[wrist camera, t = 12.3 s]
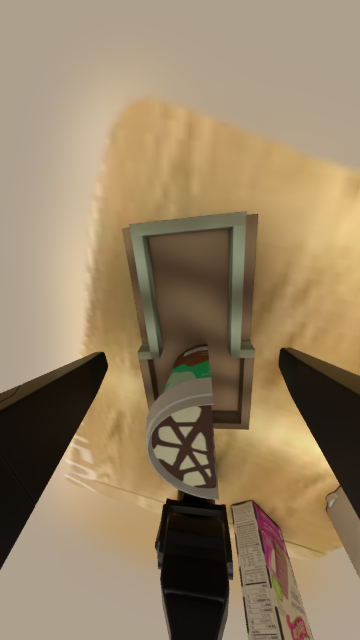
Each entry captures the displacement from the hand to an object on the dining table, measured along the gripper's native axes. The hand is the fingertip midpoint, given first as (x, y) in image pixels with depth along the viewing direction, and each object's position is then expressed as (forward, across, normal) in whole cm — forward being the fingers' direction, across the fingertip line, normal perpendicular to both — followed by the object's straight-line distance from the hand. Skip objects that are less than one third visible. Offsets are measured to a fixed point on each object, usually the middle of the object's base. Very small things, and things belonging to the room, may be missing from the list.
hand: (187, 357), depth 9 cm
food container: (+12, +2, +10) cm, 16 cm away
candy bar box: (+12, -10, +44) cm, 47 cm away
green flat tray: (+12, 0, +6) cm, 13 cm away
